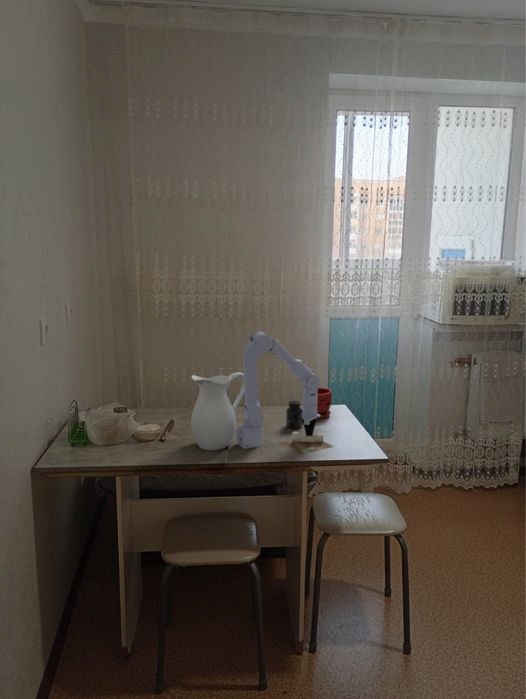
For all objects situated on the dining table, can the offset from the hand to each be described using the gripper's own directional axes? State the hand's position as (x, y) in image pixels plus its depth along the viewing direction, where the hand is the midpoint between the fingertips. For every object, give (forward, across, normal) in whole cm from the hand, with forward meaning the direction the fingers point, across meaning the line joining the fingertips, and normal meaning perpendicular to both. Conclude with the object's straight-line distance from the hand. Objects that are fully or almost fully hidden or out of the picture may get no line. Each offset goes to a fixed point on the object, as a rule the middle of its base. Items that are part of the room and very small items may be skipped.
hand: (309, 436), depth 208 cm
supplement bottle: (+2, +13, +9) cm, 16 cm away
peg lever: (0, -4, 0) cm, 4 cm away
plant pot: (+2, +35, +2) cm, 35 cm away
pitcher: (+2, -11, +33) cm, 35 cm away
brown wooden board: (+2, -7, 0) cm, 7 cm away
